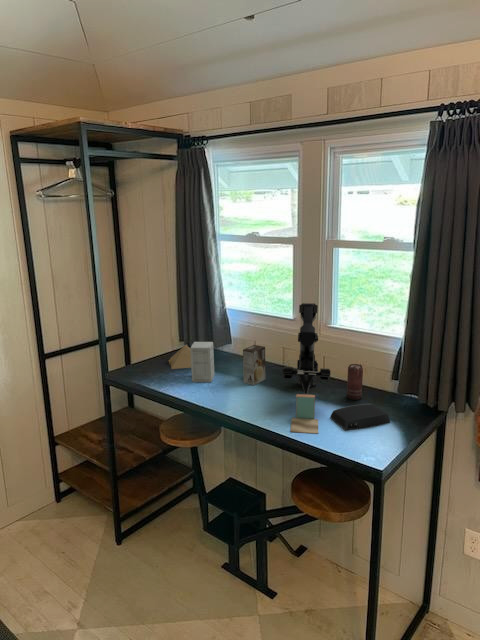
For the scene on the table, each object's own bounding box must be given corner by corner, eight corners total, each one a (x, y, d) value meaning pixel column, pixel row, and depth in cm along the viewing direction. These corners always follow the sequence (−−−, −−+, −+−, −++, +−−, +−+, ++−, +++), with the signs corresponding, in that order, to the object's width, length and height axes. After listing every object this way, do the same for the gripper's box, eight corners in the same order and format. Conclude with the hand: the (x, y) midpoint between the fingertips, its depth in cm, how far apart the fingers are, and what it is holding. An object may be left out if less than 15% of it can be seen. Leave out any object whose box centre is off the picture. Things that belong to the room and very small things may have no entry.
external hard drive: (328, 417, 191) (329, 408, 190) (372, 410, 197) (372, 400, 196) (346, 432, 179) (346, 422, 178) (391, 424, 185) (392, 414, 184)
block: (296, 415, 192) (296, 394, 190) (314, 416, 191) (314, 395, 189) (295, 418, 190) (296, 396, 188) (314, 419, 189) (314, 397, 187)
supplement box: (214, 375, 235) (214, 341, 231) (211, 382, 226) (210, 347, 222) (195, 374, 236) (193, 341, 232) (191, 382, 227) (189, 347, 223)
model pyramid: (168, 359, 260) (167, 341, 257) (200, 356, 263) (200, 338, 260) (169, 370, 244) (168, 350, 241) (204, 367, 247) (203, 348, 244)
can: (351, 401, 205) (352, 369, 201) (344, 395, 210) (345, 364, 207) (364, 399, 206) (366, 367, 202) (357, 393, 212) (358, 362, 208)
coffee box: (254, 376, 233) (254, 344, 229) (265, 379, 229) (265, 346, 225) (243, 382, 226) (242, 349, 222) (254, 385, 222) (254, 351, 218)
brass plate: (291, 418, 190) (291, 417, 190) (318, 420, 188) (318, 419, 188) (290, 432, 179) (290, 431, 179) (318, 433, 178) (318, 432, 178)
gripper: (329, 367, 207) (329, 402, 199) (284, 365, 209) (282, 400, 201) (330, 355, 197) (330, 391, 189) (283, 353, 200) (281, 389, 192)
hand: (305, 393), depth 193 cm, fingers closed
